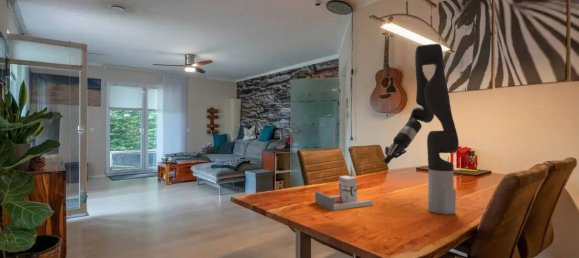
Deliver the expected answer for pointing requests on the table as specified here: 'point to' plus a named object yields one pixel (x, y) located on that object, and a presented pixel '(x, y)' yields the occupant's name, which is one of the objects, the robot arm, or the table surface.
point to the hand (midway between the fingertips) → (385, 162)
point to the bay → (329, 201)
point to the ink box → (347, 189)
